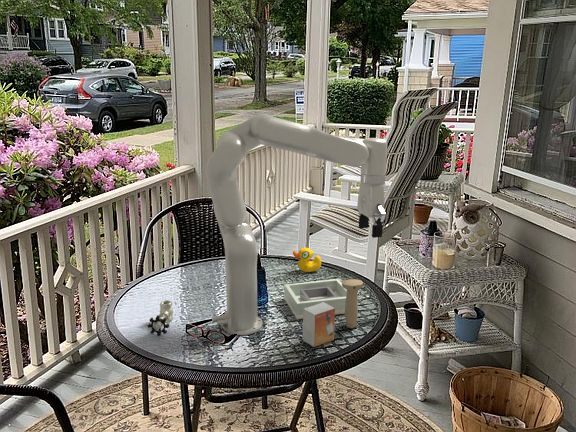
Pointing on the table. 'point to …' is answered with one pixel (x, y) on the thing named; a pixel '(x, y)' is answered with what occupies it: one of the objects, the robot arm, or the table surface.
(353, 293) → the handle
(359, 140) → the robot arm
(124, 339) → the table surface
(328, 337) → the small box
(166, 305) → the valve
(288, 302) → the housing
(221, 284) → the table surface
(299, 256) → the duckling
